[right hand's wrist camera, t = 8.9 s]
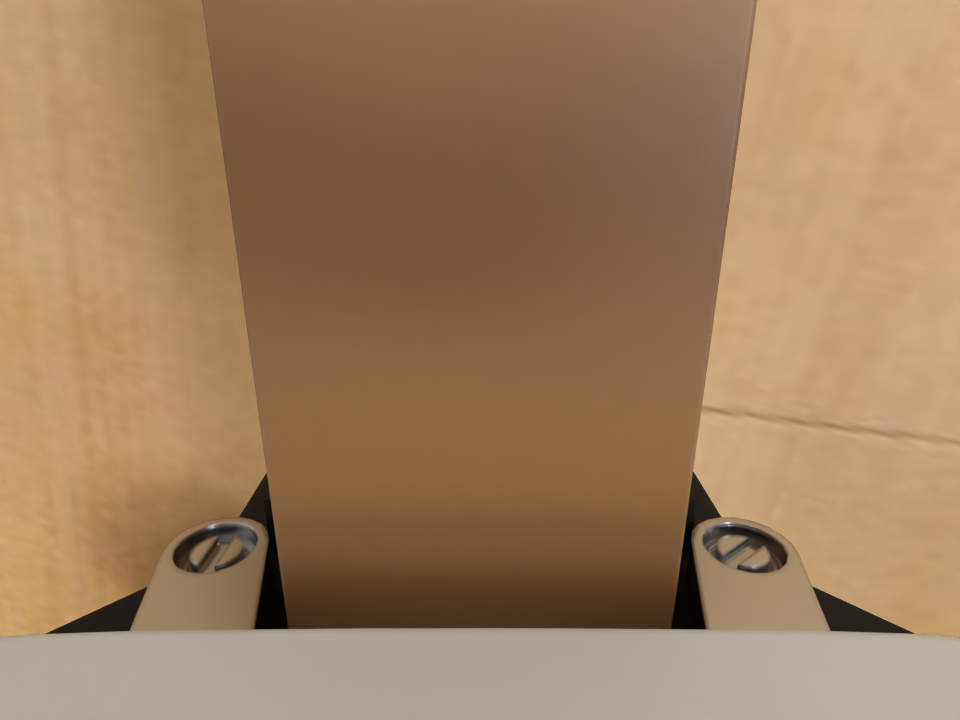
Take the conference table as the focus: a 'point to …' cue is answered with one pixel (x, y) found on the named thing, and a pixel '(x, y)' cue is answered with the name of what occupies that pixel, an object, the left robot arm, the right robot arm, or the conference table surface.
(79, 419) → the conference table surface
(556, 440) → the bar
